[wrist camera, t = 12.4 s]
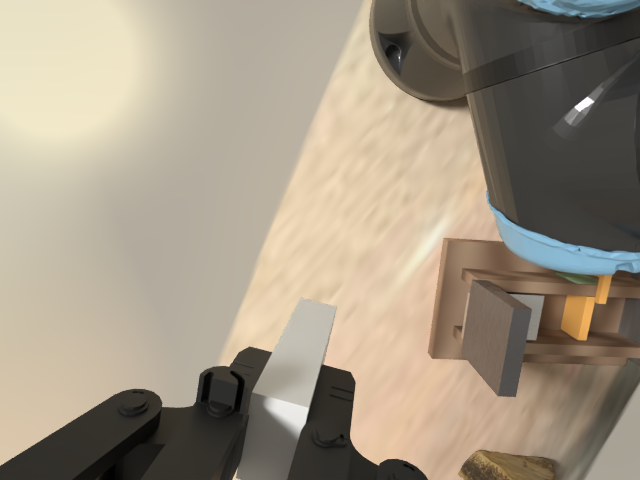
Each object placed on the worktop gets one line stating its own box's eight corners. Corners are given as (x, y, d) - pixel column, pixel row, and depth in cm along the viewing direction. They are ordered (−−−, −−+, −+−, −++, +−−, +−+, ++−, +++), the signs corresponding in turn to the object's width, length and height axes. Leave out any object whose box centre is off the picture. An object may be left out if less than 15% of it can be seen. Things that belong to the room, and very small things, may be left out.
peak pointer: (560, 328, 48) (587, 346, 44) (573, 262, 47) (604, 273, 42) (568, 329, 48) (596, 347, 44) (582, 262, 47) (613, 274, 42)
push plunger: (446, 335, 47) (498, 396, 36) (456, 268, 46) (513, 308, 34) (516, 338, 48) (589, 399, 36) (528, 272, 47) (608, 312, 35)
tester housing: (428, 352, 50) (455, 392, 41) (443, 238, 47) (476, 256, 39) (615, 359, 52) (678, 399, 43) (641, 250, 49) (713, 270, 40)
